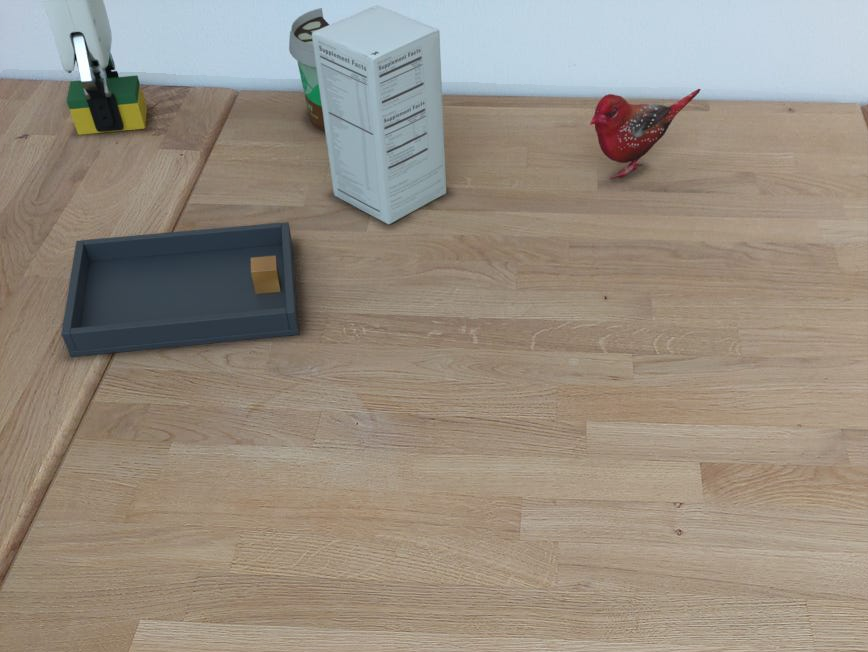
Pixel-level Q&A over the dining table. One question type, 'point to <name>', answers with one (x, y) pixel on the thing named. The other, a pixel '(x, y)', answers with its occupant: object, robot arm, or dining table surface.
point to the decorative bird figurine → (632, 127)
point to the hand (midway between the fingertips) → (111, 116)
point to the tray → (177, 290)
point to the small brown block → (265, 274)
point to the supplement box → (382, 111)
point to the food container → (308, 61)
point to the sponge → (126, 98)
